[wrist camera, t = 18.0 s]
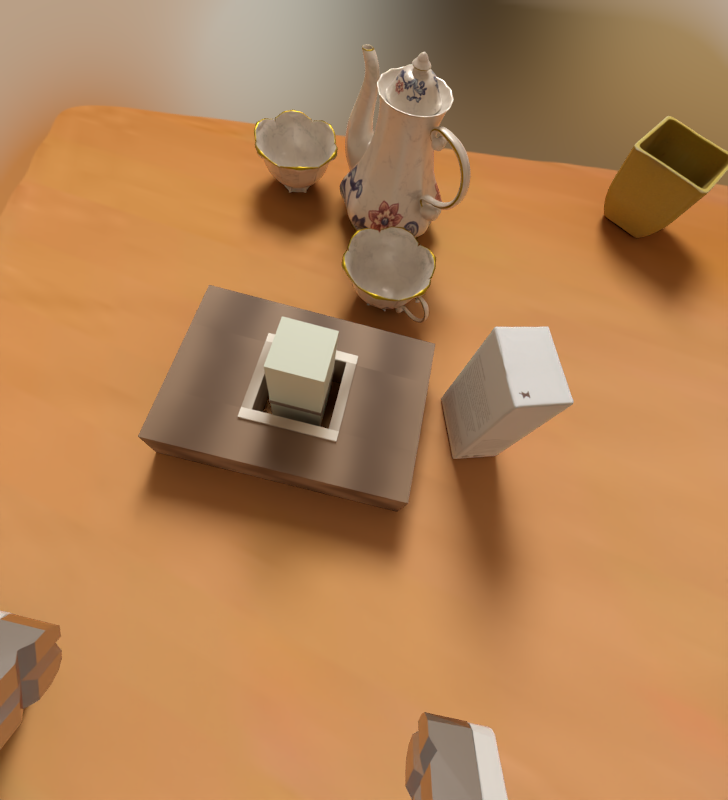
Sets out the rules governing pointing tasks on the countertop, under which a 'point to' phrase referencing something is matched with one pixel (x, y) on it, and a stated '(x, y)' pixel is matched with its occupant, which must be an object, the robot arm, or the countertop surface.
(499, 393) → the skincare box
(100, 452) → the countertop surface
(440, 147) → the chinaware
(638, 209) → the flower pot
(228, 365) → the socket board
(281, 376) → the sage peg
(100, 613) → the countertop surface
